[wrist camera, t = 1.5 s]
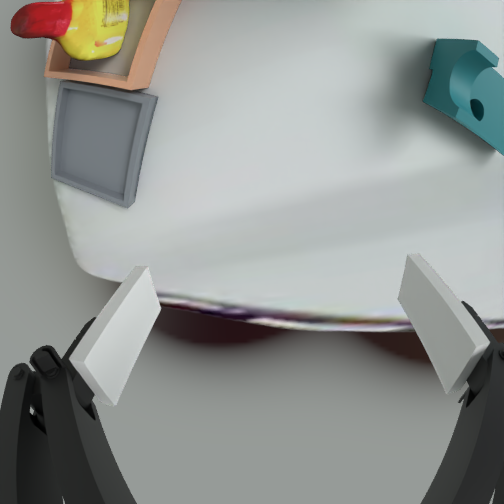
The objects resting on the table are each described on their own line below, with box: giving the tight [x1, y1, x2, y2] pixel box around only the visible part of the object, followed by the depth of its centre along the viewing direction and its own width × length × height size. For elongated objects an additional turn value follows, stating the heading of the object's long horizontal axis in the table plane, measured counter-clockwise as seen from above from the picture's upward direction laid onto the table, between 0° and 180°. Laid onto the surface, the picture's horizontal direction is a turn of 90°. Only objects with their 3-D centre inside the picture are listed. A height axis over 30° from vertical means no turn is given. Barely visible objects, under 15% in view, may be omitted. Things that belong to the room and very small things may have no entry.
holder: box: [44, 0, 181, 90], centre depth 23 cm, size 18×18×5 cm
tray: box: [51, 80, 158, 208], centre depth 35 cm, size 18×18×2 cm
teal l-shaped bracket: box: [423, 39, 504, 156], centre depth 20 cm, size 18×11×10 cm, turn 79°
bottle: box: [11, 0, 130, 61], centre depth 17 cm, size 12×6×20 cm, turn 174°
